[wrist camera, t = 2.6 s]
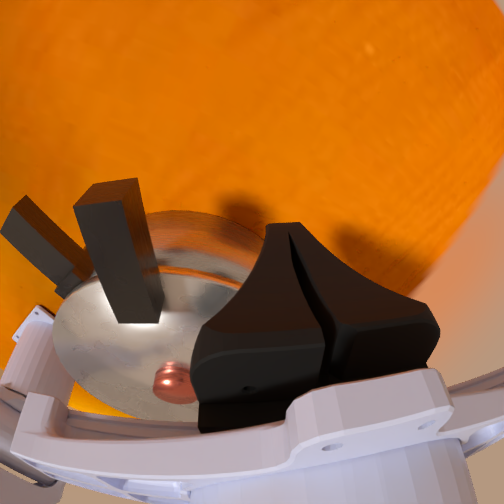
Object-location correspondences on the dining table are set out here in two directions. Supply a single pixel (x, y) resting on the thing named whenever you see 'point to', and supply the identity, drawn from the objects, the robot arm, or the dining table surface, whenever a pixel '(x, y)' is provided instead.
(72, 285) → the cooker pot
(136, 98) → the dining table surface
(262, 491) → the robot arm
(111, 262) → the cooker lid
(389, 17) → the dining table surface
